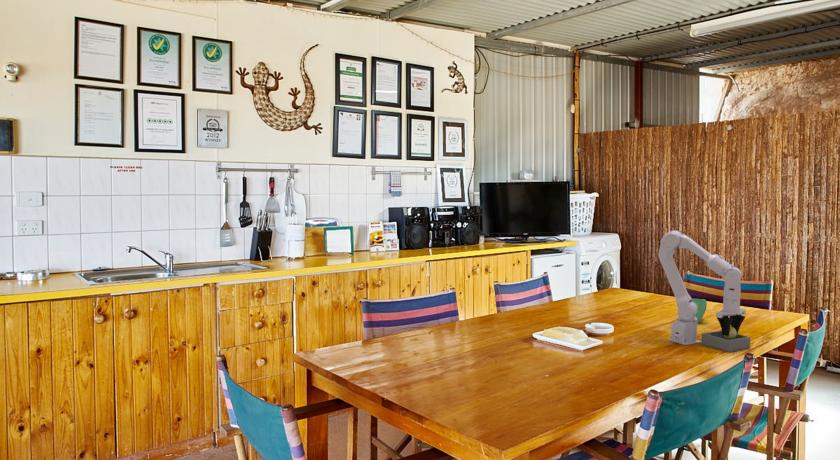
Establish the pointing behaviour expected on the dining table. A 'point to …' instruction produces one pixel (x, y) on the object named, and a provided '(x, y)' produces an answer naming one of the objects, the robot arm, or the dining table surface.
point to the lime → (731, 333)
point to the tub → (725, 342)
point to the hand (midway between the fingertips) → (730, 334)
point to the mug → (700, 308)
